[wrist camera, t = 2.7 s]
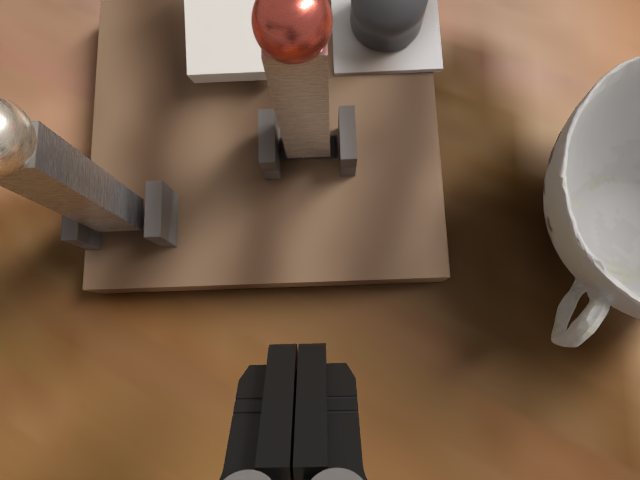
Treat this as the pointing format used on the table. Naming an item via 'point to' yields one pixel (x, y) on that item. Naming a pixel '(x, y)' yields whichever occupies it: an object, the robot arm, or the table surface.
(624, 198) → the teacup
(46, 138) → the grey metal bar
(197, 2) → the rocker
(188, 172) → the panel
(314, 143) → the red toggle
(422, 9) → the button
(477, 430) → the table surface
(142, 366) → the table surface
